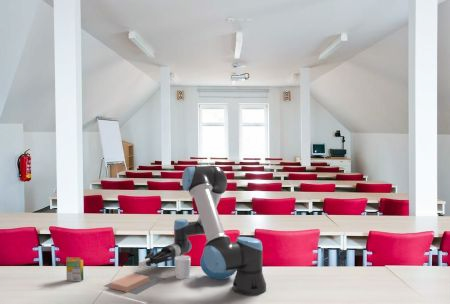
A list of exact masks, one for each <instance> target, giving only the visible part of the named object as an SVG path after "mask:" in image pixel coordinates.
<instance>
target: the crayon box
mask: <svg viewBox="0 0 450 304" xmlns="http://www.w3.org/2000/svg"><path fill="white" fill-rule="evenodd" d="M65 262H66V264H65V265H66V282H82V281H83V280H84V259H81V257H69V256H67V257H66V260H65Z"/></svg>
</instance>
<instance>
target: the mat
mask: <svg viewBox="0 0 450 304" xmlns="http://www.w3.org/2000/svg"><path fill="white" fill-rule="evenodd" d="M133 273H135V274H139V275H144V276H149V282H147V283H145V284H143V285H141V286H139V287H137V288H135V289H133V290H130V291H128V292H127V293H129V294H132V295H133V294H134V295H138V294H141V293H142V292H144V291H146V290H148V289H150V288H151V287H154V286H156V285H158V284H159V283H161V282H164V281H165V280H167V279H168V278H166V277H161V276H157V275H153V274H148V273H142V272H138V271H135V272H133ZM110 283H111V282H109V283H107V284H105V285H104V287H105V288H109V289H111V288H110Z"/></svg>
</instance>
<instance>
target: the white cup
mask: <svg viewBox="0 0 450 304" xmlns="http://www.w3.org/2000/svg"><path fill="white" fill-rule="evenodd" d="M191 258H192V257H191V256H190V255H186V254H183V255H181V256H177V257H175V259H174V269H175V271H174V272H175V278H176V279H178V280H187V279H189V278H190V277H191V262H192V261H191Z"/></svg>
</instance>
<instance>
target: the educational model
mask: <svg viewBox="0 0 450 304" xmlns="http://www.w3.org/2000/svg"><path fill="white" fill-rule="evenodd" d="M203 257H204V255H203V254H202V255H201V258H200V262H199V263H200V267H201V270H202V271H203V273H204V274H205V275H206V276H208V277H209V278H210V279H214V280H223V279H228V278H230V277H231V276H233V275H234V274H236V273H237V269H235V270H229V271H224V272H217V273H214V272H211V271H210V270H209V269H208V268H207V266H206V264H205V262H204V258H203Z"/></svg>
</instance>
